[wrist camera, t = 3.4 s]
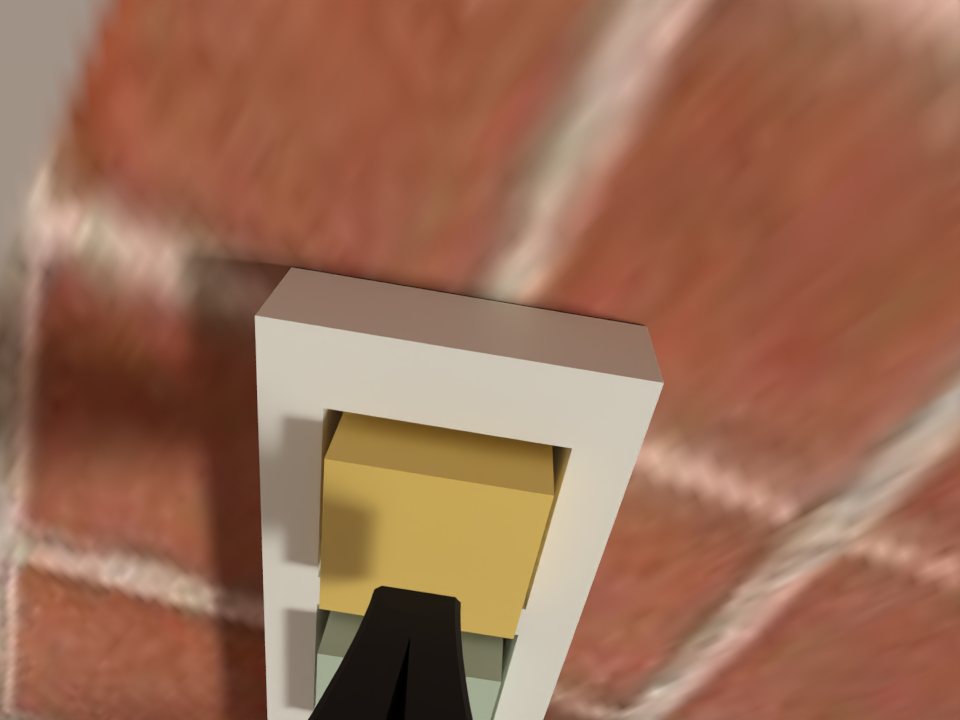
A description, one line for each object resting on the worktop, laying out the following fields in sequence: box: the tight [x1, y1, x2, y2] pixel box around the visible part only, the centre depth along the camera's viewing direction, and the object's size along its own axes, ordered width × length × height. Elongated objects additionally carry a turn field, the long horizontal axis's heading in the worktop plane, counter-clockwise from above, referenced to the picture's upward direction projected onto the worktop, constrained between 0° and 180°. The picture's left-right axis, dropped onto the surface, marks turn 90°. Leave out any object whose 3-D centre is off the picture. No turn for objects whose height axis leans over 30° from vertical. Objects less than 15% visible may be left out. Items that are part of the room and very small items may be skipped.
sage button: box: [316, 611, 503, 720], centre depth 16 cm, size 4×4×2 cm
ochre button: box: [319, 411, 554, 639], centre depth 13 cm, size 4×4×2 cm
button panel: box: [255, 267, 664, 720], centre depth 17 cm, size 19×7×2 cm, turn 171°
